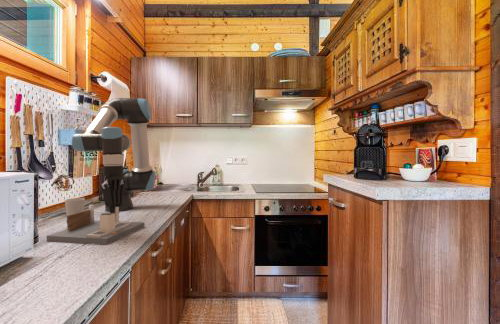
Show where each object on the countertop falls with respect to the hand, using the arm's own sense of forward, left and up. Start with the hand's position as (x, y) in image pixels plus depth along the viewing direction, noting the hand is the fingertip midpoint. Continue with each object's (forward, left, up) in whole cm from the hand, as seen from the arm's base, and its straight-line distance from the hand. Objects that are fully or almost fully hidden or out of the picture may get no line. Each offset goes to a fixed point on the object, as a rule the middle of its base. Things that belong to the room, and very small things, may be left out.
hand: (114, 222), depth 114 cm
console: (0, -7, -5) cm, 8 cm away
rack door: (0, -18, -2) cm, 18 cm away
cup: (-10, -28, -5) cm, 30 cm away
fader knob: (+4, 0, -2) cm, 5 cm away
